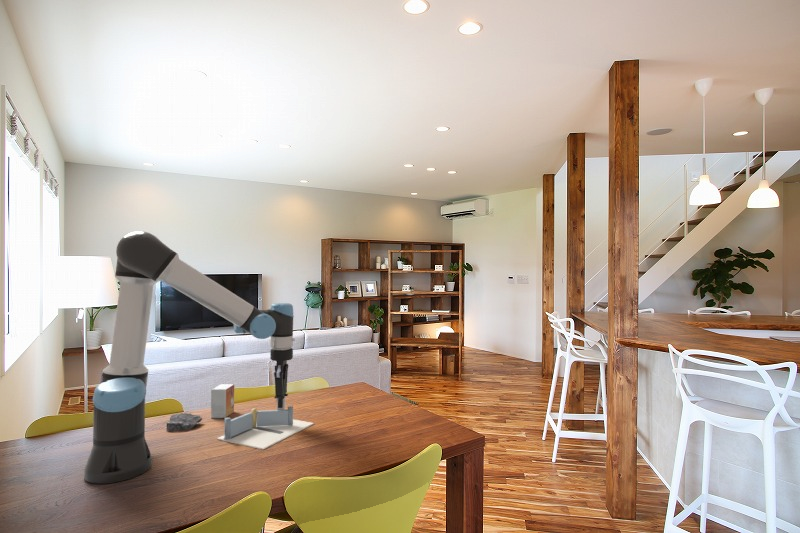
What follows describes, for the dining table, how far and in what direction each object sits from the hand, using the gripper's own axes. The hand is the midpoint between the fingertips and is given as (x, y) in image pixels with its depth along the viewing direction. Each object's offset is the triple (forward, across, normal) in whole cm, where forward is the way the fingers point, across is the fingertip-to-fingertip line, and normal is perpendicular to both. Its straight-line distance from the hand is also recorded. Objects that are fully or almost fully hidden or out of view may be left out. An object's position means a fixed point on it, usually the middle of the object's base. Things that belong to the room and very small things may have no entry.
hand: (280, 416), depth 152 cm
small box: (+4, +14, +24) cm, 28 cm away
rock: (+4, +2, +33) cm, 34 cm away
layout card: (+3, -5, +3) cm, 7 cm away
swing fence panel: (+3, -2, +3) cm, 4 cm away
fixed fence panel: (+3, -8, +12) cm, 15 cm away
